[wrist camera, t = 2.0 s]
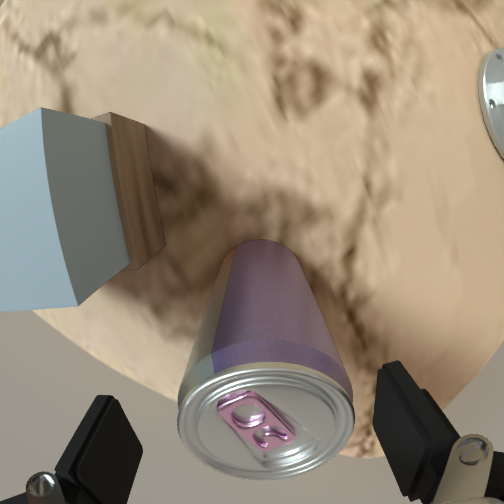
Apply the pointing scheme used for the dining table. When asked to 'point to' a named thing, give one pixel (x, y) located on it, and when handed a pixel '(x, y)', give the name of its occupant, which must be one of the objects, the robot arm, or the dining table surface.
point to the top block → (56, 212)
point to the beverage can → (264, 373)
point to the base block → (134, 188)
